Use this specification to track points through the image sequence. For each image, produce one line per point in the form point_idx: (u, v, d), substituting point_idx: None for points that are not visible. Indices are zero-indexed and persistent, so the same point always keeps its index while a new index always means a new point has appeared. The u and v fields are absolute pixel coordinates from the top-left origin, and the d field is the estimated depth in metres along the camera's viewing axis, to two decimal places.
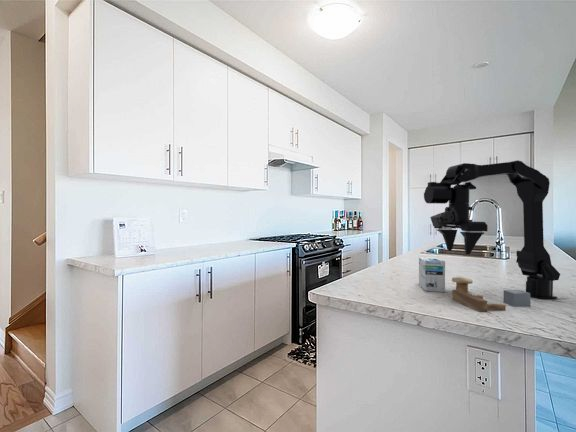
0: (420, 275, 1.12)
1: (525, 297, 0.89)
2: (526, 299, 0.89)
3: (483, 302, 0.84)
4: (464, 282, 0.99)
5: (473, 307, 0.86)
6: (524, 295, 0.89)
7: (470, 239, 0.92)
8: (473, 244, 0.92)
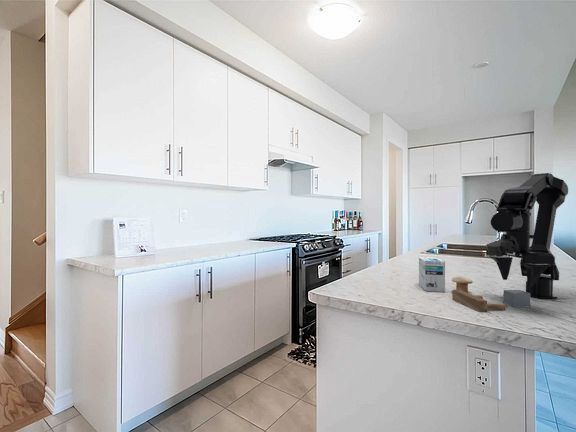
0: (420, 275, 1.13)
1: (525, 297, 0.89)
2: (526, 299, 0.89)
3: (483, 302, 0.84)
4: (464, 282, 0.99)
5: (473, 307, 0.86)
6: (524, 295, 0.89)
7: (533, 271, 0.85)
8: (537, 276, 0.85)
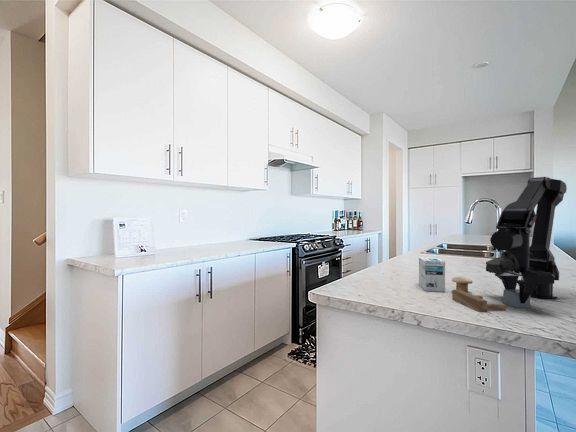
0: (420, 275, 1.13)
1: None
2: None
3: (483, 302, 0.84)
4: (464, 282, 0.99)
5: (473, 307, 0.86)
6: None
7: (525, 288, 0.88)
8: (529, 293, 0.88)
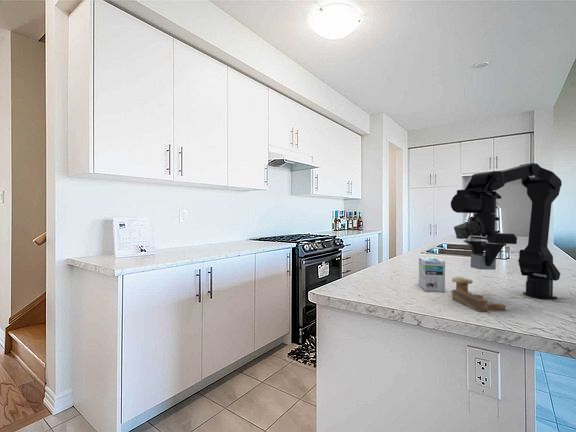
0: (420, 275, 1.13)
1: None
2: None
3: (483, 302, 0.84)
4: (464, 282, 0.99)
5: (473, 307, 0.86)
6: None
7: (490, 250, 0.89)
8: (494, 256, 0.89)
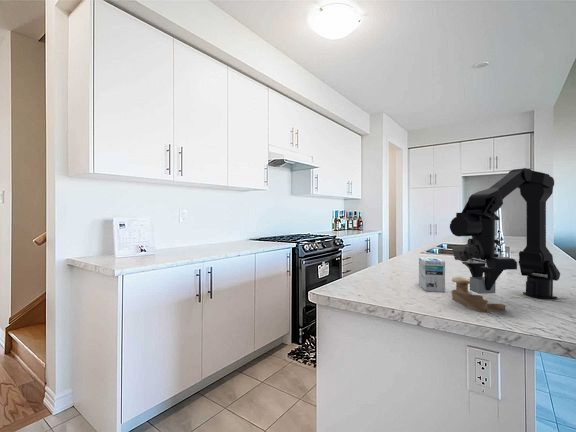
0: (420, 275, 1.13)
1: None
2: None
3: (483, 302, 0.84)
4: (464, 282, 0.99)
5: (473, 307, 0.86)
6: None
7: (490, 274, 0.87)
8: (494, 280, 0.87)
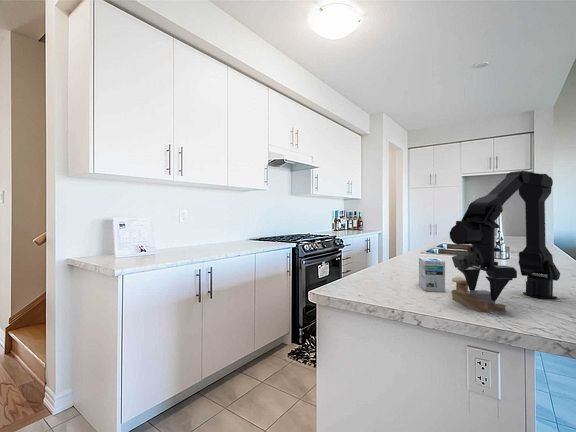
0: (420, 275, 1.13)
1: (490, 298, 0.88)
2: None
3: (483, 302, 0.84)
4: (464, 282, 0.99)
5: (473, 307, 0.86)
6: (489, 295, 0.88)
7: (496, 285, 0.85)
8: (500, 290, 0.85)
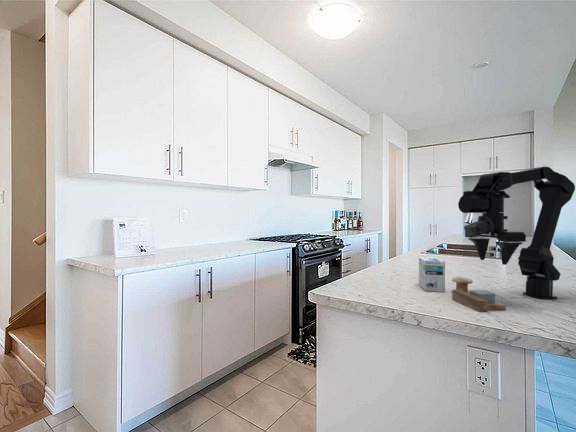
0: (420, 275, 1.13)
1: (490, 298, 0.88)
2: (491, 299, 0.88)
3: (483, 302, 0.84)
4: (464, 282, 0.99)
5: (473, 307, 0.86)
6: (489, 295, 0.88)
7: (507, 249, 0.91)
8: (510, 254, 0.91)
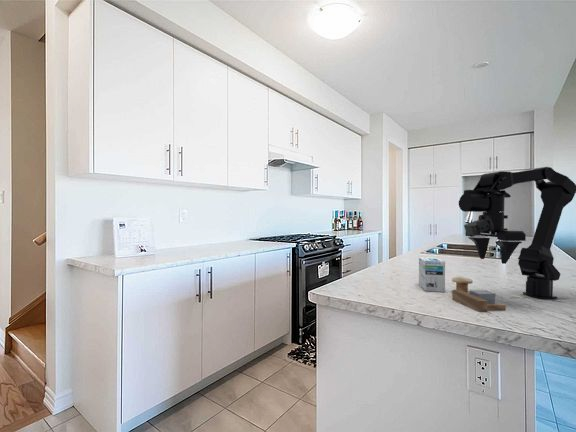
0: (420, 275, 1.13)
1: (490, 298, 0.88)
2: (491, 299, 0.88)
3: (483, 302, 0.84)
4: (464, 282, 0.99)
5: (473, 307, 0.86)
6: (489, 295, 0.88)
7: (506, 248, 0.91)
8: (510, 253, 0.91)
